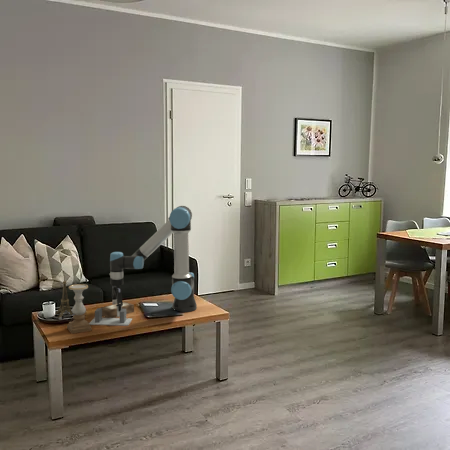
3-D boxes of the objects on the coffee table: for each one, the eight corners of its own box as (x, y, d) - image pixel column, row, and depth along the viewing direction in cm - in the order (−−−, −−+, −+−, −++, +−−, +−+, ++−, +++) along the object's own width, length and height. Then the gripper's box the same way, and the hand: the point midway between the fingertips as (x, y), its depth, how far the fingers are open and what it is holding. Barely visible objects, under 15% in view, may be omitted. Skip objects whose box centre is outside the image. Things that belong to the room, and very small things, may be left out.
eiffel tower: (58, 320, 290) (57, 277, 287) (53, 315, 299) (52, 273, 296) (77, 317, 296) (76, 275, 293) (71, 312, 305) (70, 271, 302)
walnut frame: (124, 309, 314) (124, 301, 313) (134, 312, 308) (133, 304, 307) (100, 316, 300) (100, 307, 300) (109, 319, 294) (109, 310, 294)
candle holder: (66, 327, 278) (65, 285, 275) (86, 324, 283) (86, 282, 280) (71, 333, 268) (70, 289, 265) (92, 330, 273) (91, 287, 270)
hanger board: (132, 319, 293) (132, 307, 292) (128, 325, 282) (128, 313, 282) (94, 318, 294) (94, 306, 293) (88, 324, 283) (88, 312, 282)
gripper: (106, 274, 311) (106, 308, 313) (114, 283, 289) (115, 319, 291) (118, 273, 314) (118, 307, 317) (127, 282, 292) (128, 318, 294)
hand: (117, 313), depth 304 cm, fingers open, 12 cm apart
